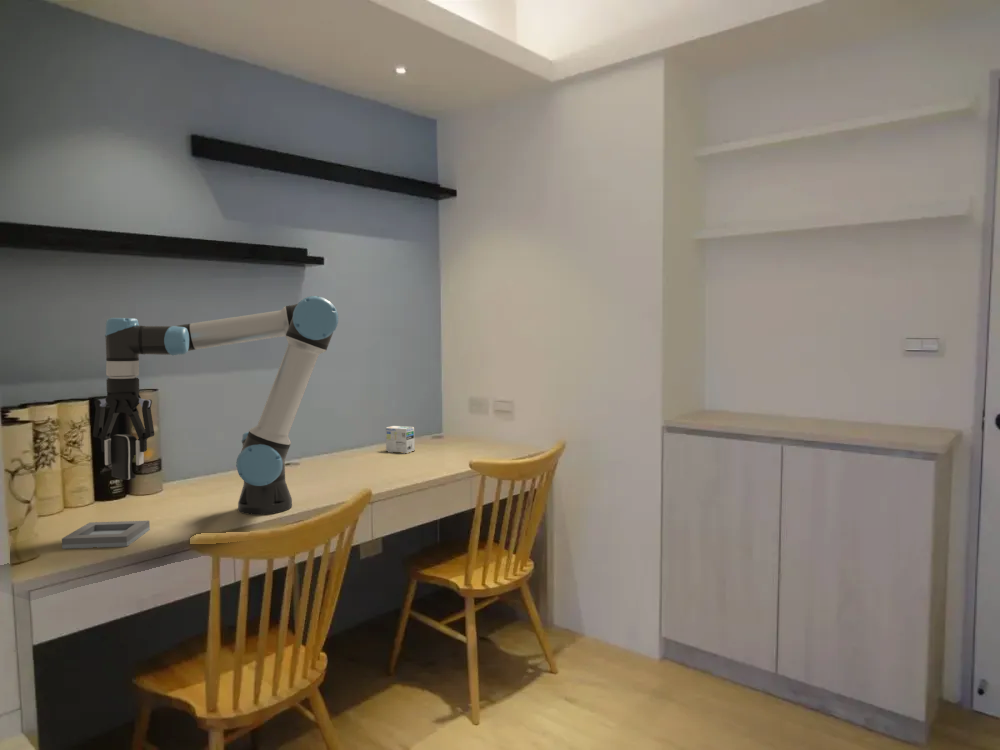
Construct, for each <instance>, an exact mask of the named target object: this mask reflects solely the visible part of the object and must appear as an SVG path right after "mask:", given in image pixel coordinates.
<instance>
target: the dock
mask: <svg viewBox="0 0 1000 750" xmlns="http://www.w3.org/2000/svg"><path fill="white" fill-rule="evenodd" d="M149 531H151V528H150V520H128V521H127V520H125V521H123V520H122V521H98V522H97V521H95V522H93V521H91V522H87V523H86V524H85V525H83V526H81V527H80V528H77V529H75V530H74V531H72V532H70V533H69V534H67V535H65V536H64V537H62V538H61V549H62V550H65V549H66V550H67V549H91V548H92V549H93V547H97V548H122V547H128V546H130V545H131V544H132V543H134V542H135V541H136V540H138V539H140V538H141V537H142V536H144V535H145V534H146V533H148V532H149Z"/></svg>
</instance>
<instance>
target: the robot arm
mask: <svg viewBox="0 0 1000 750" xmlns="http://www.w3.org/2000/svg"><path fill="white" fill-rule="evenodd" d="M338 324H339V313H338V309H337V308H336V307H335V304H333V303H332V302H331V301H330V300H329V299H326V298H325V297H322V296H319V295H311V296H307V297H304V298H303V299H301V300H300V301H299V302H298V303H295V304H291V305H286V306H284V307H282V309H280V310H274V311H267V312H259V313H254V314H247V315H240V316H233V317H225V318H220V319H212V320H205V321H198V322H191V323H185V324H178V325H170V326H169V325H168V326H167V325H163V326H162V325H159V326H158V325H155V326H153V325H146V326H145V325H140V323H139V320H138V319H137V318H132V317H131V318H130V317H110V318H108V319H107V320H106V323H105V334H104V337H105V338H104V339H105V356H106V357H105V358H106V359H105V360H106V361H105V363H106V364H105V366H106V367H105V371H106V373H105V375H106V376H107V377H108V378H107V379H106V380H105V381H106V382H105V383H106V393H107V395H106V397H105V398H100V399H98V398H97V399H95V400H94V402H93V403H94V407H95V412H94V413H95V414H94V422H93V431H92V432H93V433H92V436H93V437H94V438H98V439H100V445H101V447H100V450H101V453H104V465H105V466H109V465H112V464H111V435H112V431H113V428H114V426H115V423H116V421H117V418H118V416H119V415H120V413H124V414H127V415H128V417H129V419H130V421H131V423H132V426H133V428H134V430H135V433H136V435H137V437H138V439H137V440H136V455H135V465H136V466H142V464H144V463H145V458H144V457H145V456H144V452H147V450H148V439H150V438H152V437H154V436H155V430H154V429H155V428H154V427H155V426H154V421H153V415H152V404H153V400H152V399H146V398H145V399H144V398H141V395H140V378H139V377H137V376H140V368H139V367H140V364H139V363H140V361H139V360H140V358H139V357H140V355H160V356H161V355H165V356H166V355H167V356H168V355H171V356H178V355H179V356H180V355H186V354H187V353H188V352H190V351H195V350H200V349H201V350H203V349H208V348H214V347H216V348H217V347H221V346H227V345H228V346H229V345H234V344H240V343H249V342H254V341H260V340H261V341H262V340H268V339H273V338H281V337H285V339H286V340H287V343H288V344H287V347H286V350H285V353H284V355H283V357H282V360H281V363H280V366H279V368H278V370H277V373H276V376H275V378H274V381H273V384H272V386H271V389H270V391H269V394H268V396H267V399H266V402H265V404H264V407H263V410H262V412H261V415H260V418H259V419H258V420H259V421H258V422H257V425H255V426H253V427H251V428H249V430H248V431H246V432H244V433H243V434H242V439H241V443H242V447H241V451H240V453H239V454H238V456H237V458H236V465H235V466H236V470H237V471H236V472H237V474H238V475H239V477H240V478H241V479H242V481H243V485H242V489H241V492H240V496H239V498H238V502H237V509H238V510H237V511H238V512H239V513H241V514H246V515H255V516H256V515H269V514H276V513H281V512H284V511H287V510H289V509H292V506H293V499H292V498H293V497H292V495H291V492H290V490H289V488H288V485H287V482H286V458H287V455H288V452H289V450H290V447H291V444H292V441H291V440H290V437H289V434H290V431H291V428H292V426H293V423H294V421H295V418H296V416H297V412H298V411H299V407H300V405H301V402H302V400H303V397H304V394H305V392H306V390H307V386H308V385H309V382H310V379H311V376H312V373H313V372H314V368H315V366H316V364H317V363H316V362H317V361H318V358H319V355H321V354H323V353H325V352H327V350H328V347H329V344H330V343H331V339H332V337H333V334H334V332H335V331H336V329H337V327H338ZM139 404H140V407H141V413H142V418H143V419H142V420H143V422H142V420H141V418H140V415H139V410H138V408H137V407H138V406H139ZM107 405H108V407H110V408H109V411H108V413H107V418H106V421H105V414H106V406H107ZM104 422H105V424H104Z"/></svg>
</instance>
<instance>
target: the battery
mask: <svg viewBox="0 0 1000 750" xmlns="http://www.w3.org/2000/svg"><path fill="white" fill-rule="evenodd" d="M110 439H111V464H110V465H111V477H113V478H117V479H121V480H130V479H134V478H136V474H135V473H134V470H133V459H134V457H135V456H136V440H138V439H137V437H136V436H134V435H132V434H126V433H122V434H114V435H112V436H111V437H110Z"/></svg>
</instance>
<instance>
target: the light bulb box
mask: <svg viewBox="0 0 1000 750" xmlns="http://www.w3.org/2000/svg"><path fill="white" fill-rule="evenodd" d="M385 441H386V442H385V448H386V449H385V452H386V451H388V452H387V453H393V452H403V453H402V454H405V453H407V454H409V453H408V452H410V453H412V452H411V451H414V450H415V445H416V444H415V427H414V426H406V425H404V426H402V425H391V426H386V427H385ZM415 451H416V450H415ZM415 451H414V452H415Z"/></svg>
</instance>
